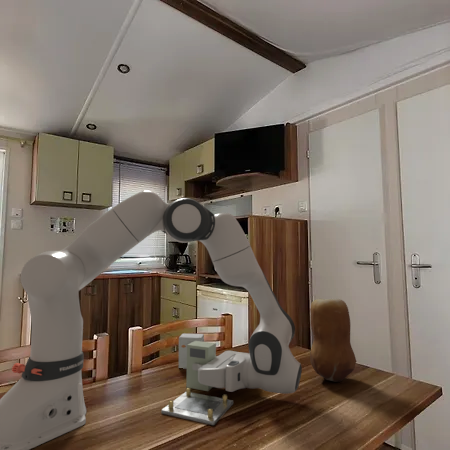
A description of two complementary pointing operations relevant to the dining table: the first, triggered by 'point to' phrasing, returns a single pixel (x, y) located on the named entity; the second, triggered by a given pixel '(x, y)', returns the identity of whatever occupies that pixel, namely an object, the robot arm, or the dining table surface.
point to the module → (198, 362)
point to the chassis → (198, 407)
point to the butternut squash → (331, 339)
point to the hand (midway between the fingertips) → (198, 362)
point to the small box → (183, 343)
